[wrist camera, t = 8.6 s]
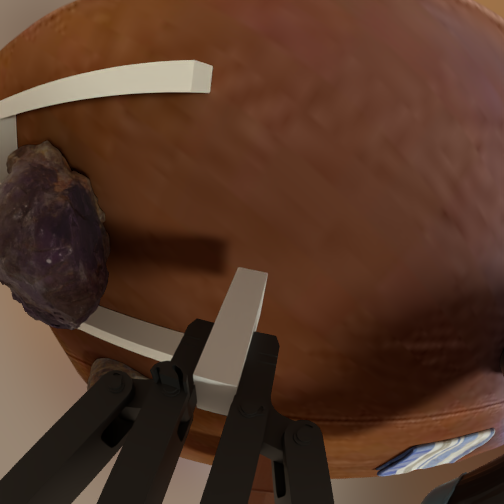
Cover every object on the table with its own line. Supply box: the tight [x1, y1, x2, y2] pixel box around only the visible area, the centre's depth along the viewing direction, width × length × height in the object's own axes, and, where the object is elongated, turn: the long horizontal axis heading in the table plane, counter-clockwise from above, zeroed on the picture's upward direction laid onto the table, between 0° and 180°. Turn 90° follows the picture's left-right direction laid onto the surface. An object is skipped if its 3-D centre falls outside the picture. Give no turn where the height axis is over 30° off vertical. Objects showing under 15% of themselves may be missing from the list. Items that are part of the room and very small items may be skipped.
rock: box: [0, 141, 110, 330], centre depth 14 cm, size 12×9×10 cm
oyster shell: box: [87, 358, 149, 390], centre depth 29 cm, size 11×15×6 cm
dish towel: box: [376, 428, 495, 476], centre depth 33 cm, size 17×24×3 cm
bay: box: [0, 60, 213, 362], centre depth 17 cm, size 20×21×2 cm
